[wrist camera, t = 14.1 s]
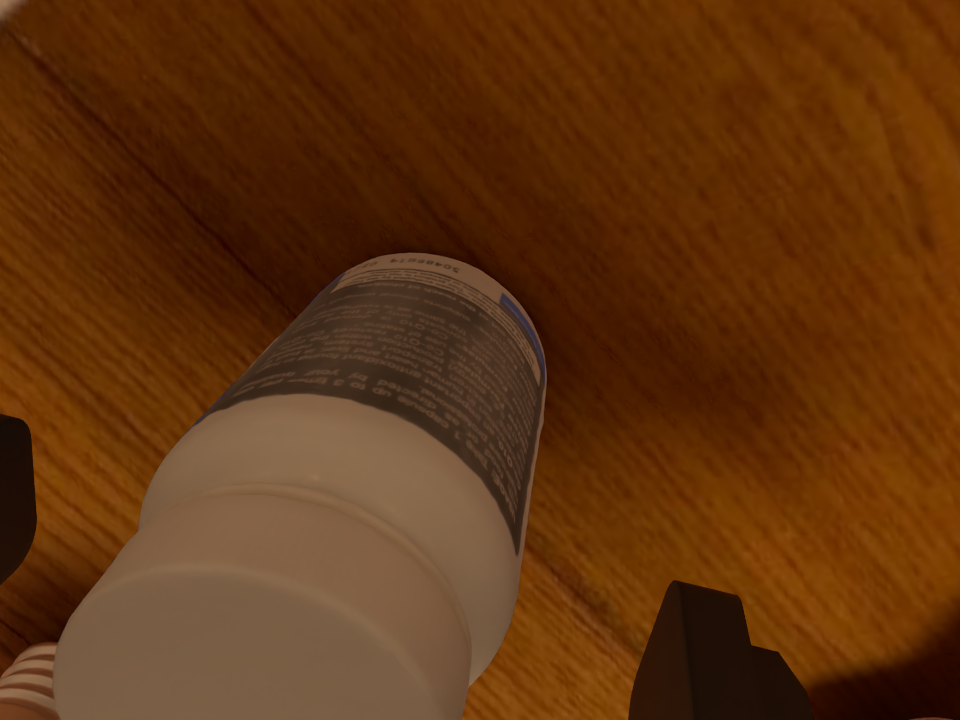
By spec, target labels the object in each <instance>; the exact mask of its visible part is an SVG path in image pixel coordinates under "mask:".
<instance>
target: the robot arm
mask: <svg viewBox="0 0 960 720" xmlns="http://www.w3.org/2000/svg"><path fill="white" fill-rule="evenodd" d="M36 525H37V515H36V501H35V486H34V471H33V457H32V442H31V433H30V430H29V427H28V426H27V424H26V423H25V422H24V421H23V420H21V419H19V418H15V417H10V416H6V415H2V414H0V585H1V584H2V583H3V582H4V581H5V580H6V579H7V578H8V577H9V576H10V575H11V574H12V573H13V572H14V571H15V570H16V569H17V568H18V567H19V566H20V564H21V563H22V562H23V560H24V558H25V557H26V555H27V553H28V551H29V549H30V547H31V545H32V542H33V539H34V536H35V531H36ZM628 720H814V717H813V713H812V710H811V706H810V703H809V699H808V695H807V692H806V691H805V689H804V688H803V686H802V685H801V684H800V682H799V681H798V679H797V678H796V676H795V675H794V674H793V672H792V671H791V669H790V668H789V667H788V665H787V664H786V662H785V661H784V659H783V658H782V657H781V655H780V654H779V652H776V651H772V650H768V649H764V648H760V647H756V646H752V645H751V643H750V638H749V634H748V629H747V624H746V619H745V615H744V610H743V606H742V602H741V600H740V598H739V597H738V596H737V595H734V594H730V593H726V592H722V591H717V590H713V589H709V588H705V587H701V586H697V585H693V584H689V583H685V582H680V581H676V580H674V581H673V582H672V583H671V584H670V585H669V587H668V589H667V591H666V594H665V596H664V599H663V602H662V605H661V608H660V610H659V613H658V616H657V619H656V621H655V624H654V627H653V630H652V632H651V635H650V638H649V641H648V644H647V646H646V649H645V652H644V655H643V657H642V660H641V663H640V666H639V669H638V671H637V674H636V678H635V681H634V686H633V690H632V695H631V701H630V708H629V718H628Z"/></svg>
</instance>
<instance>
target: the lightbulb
mask: <svg viewBox="0 0 960 720" xmlns="http://www.w3.org/2000/svg"><path fill="white" fill-rule="evenodd" d="M57 645H58V642H42V643H37V644H34V645H32V646H30V647H28V648H26V649H25V650H24V651H23V652H22V653H21V654H20V655H19V656H18V657H17V658H16V659H15V661H14V663H13V665H12V666H10V667H9V668H8V669H7V670H6V671H5V672H4V673H3V674H2V676H1V678H0V720H61V719H60V717H59V714H58V712H57V710H56V705H55V699H54V693H53V665H54V659H55V653H56V647H57Z"/></svg>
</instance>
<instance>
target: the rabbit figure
mask: <svg viewBox="0 0 960 720" xmlns="http://www.w3.org/2000/svg"><path fill="white" fill-rule="evenodd" d="M911 720H952V719H947V718H937V717H936V718H917V719H911Z"/></svg>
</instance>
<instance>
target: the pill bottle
mask: <svg viewBox="0 0 960 720" xmlns="http://www.w3.org/2000/svg"><path fill="white" fill-rule="evenodd" d="M546 385H547V373H546V363H545V355H544V351H543V347H542V344H541V341H540V339H539V336H538V334H537V331H536V329H535V327H534V325H533V323H532V321H531V319H530V318H529V316H528V315H527V313H526V312H525V310H524V309H523V307H522V306H521V305H520V303H519V302H518V301H517V300H516V299H515V298H514V297H513V296H512V295H511V294H510V292H508V291H507V290H506V289H505V288H504V287H503V286H501V285H500V284H499V283H498V282H497V281H496V280H494V279H493V278H491V277H490V276H488V275H487V274H485V273H484V272H482V271H481V270H479V269H477V268H475V267H473V266H471V265H469V264H467V263H464V262H461V261H458V260H455V259H452V258H448V257H444V256H438V255H433V254H427V253H399V254H391V255H384V256H379V257H376V258H373V259H371V260H368V261H366V262H363V263H361V264H359V265H357V266H355V267H353V268H351V269H349V270H347V271H346V272H344V273H343V274H341V275H340V276H339V277H337V278H336V279H335V280H334V281H332V282H331V283H330V284H329V285H328V286H327V287H326V288H324V289H323V290H322V291H321V292H320V293H319V294H318V295H317V296H316V297H315V298H314V300H313V301H312V302H311V303H310V304H309V305H308V306H307V307H306V308H305V309H304V310H303V311H302V312H301V314H300V315H299V316H298V317H297V318H296V319H295V320H294V321H293V322H292V323H291V324H290V325H289V326H288V327H287V328H286V329H285V330H284V332H283V333H282V334H281V335H280V336H279V337H278V338H277V339H275V340H274V341H273V342H272V343H271V344H270V346H269V347H268V348H267V349H266V350H265V351H264V352H263V353H262V354H261V355H260V356H259V357H258V358H257V359H256V360H255V361H254V362H253V364H252V365H251V366H250V367H249V368H248V369H247V370H246V371H245V372H244V374H243V375H242V376H241V377H240V378H239V379H238V380H237V381H235V382H234V383H233V384H232V385H231V386H230V387H229V388H228V389H227V390H226V392H225V393H224V394H223V395H222V396H221V397H220V398H219V399H218V401H217V402H216V403H215V404H214V405H213V406H212V407H211V408H210V409H208V410H207V411H206V412H205V414H204V415H203V416H202V417H201V418H200V419H199V420H198V421H197V422H196V423H195V424H194V425H193V426H192V427H191V428H190V429H189V430H188V431H187V432H186V434H185V435H184V436H183V437H182V438H181V439H180V440H179V441H178V442H177V443H176V445H175V446H174V447H173V448H172V450H171V451H170V452H169V453H168V454H167V456H166V457H165V458H164V460H163V462H162V463H161V465H160V466H159V468H158V469H157V471H156V473H155V475H154V477H153V479H152V481H151V483H150V485H149V487H148V489H147V492H146V495H145V498H144V501H143V504H142V508H141V513H140V519H139V525H138V531H137V533H136V534H135V535H134V536H133V537H132V538H131V539H130V540H129V541H128V542H127V543H126V545H125V546H124V547H123V548H122V550H121V551H120V552H119V554H118V555H117V557H116V558H115V560H114V561H113V563H112V564H111V565H110V567H109V568H108V569H107V571H106V572H105V573H104V574H103V576H102V577H101V578H100V579H99V581H98V582H97V583H96V584H95V586H94V587H93V588H92V589H91V590H90V592H89V593H88V594H87V595H86V597H85V598H84V599H83V600H82V602H81V603H80V604H79V606H78V607H77V608H76V610H75V611H74V613H73V614H72V615H71V617H70V618H69V620H68V622H67V624H66V626H65V629H64V631H63V633H62V635H61V637H60V640H59V642H58V645H57V647H56V653H55V659H54V665H53V693H54V699H55V705H56V710H57V712H58V714H59V717H60V719H61V720H462V715H463V711H464V706H465V702H466V697H467V691H468V687H469V686H470V685H471V684H472V683H473V682H475V681H476V679H477V678H478V677H479V676H480V675H481V674H482V672H483V671H484V670H485V669H486V668H487V666H488V665H489V664H490V663H491V661H492V660H493V658H494V656H495V654H496V652H497V651H498V649H499V647H500V645H501V644H502V642H503V639H504V637H505V635H506V633H507V631H508V629H509V627H510V624H511V620H512V615H513V612H514V607H515V603H516V600H517V597H518V588H519V580H520V571H521V564H522V560H523V552H524V544H525V538H526V528H527V524H528V514H529V506H530V498H531V491H532V484H533V476H534V470H535V463H536V459H537V454H538V448H539V439H540V433H541V430H542V428H543V425H544V404H545V396H546Z"/></svg>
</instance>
